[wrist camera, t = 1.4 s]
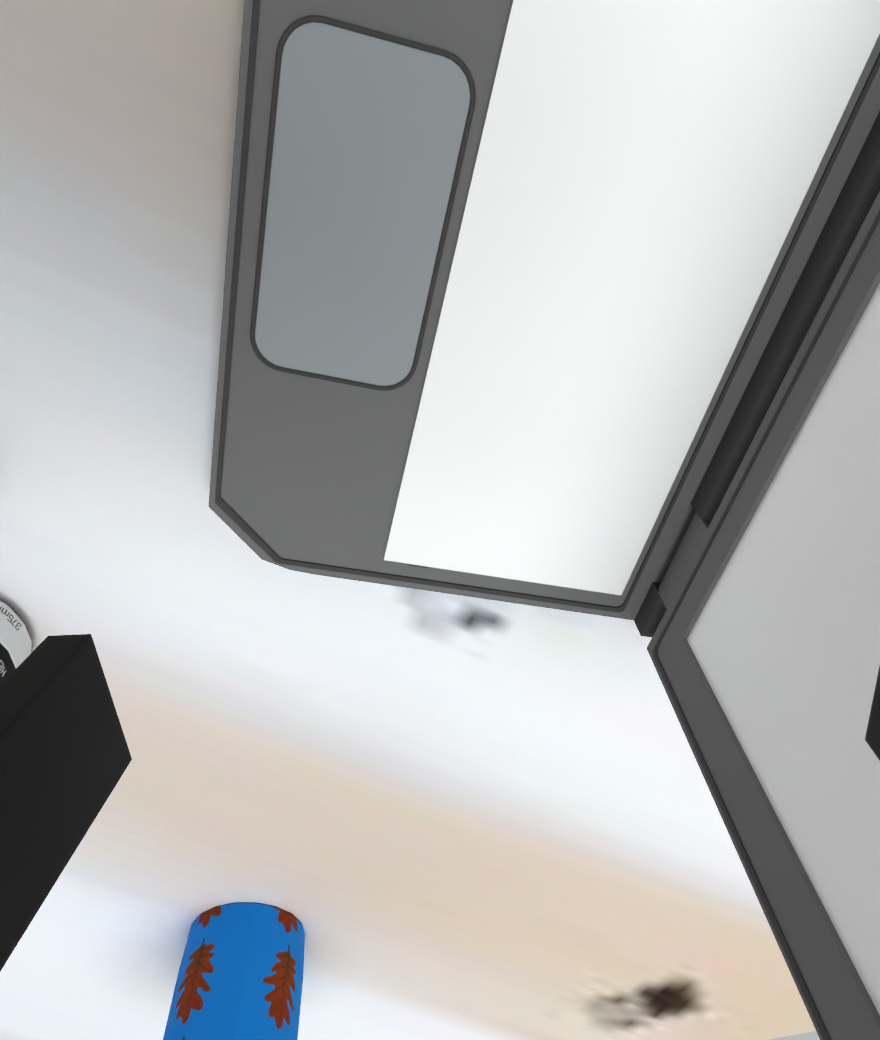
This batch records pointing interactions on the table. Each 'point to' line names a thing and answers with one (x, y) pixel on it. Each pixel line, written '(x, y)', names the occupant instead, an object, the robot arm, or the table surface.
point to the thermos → (239, 976)
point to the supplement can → (12, 641)
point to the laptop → (592, 370)
